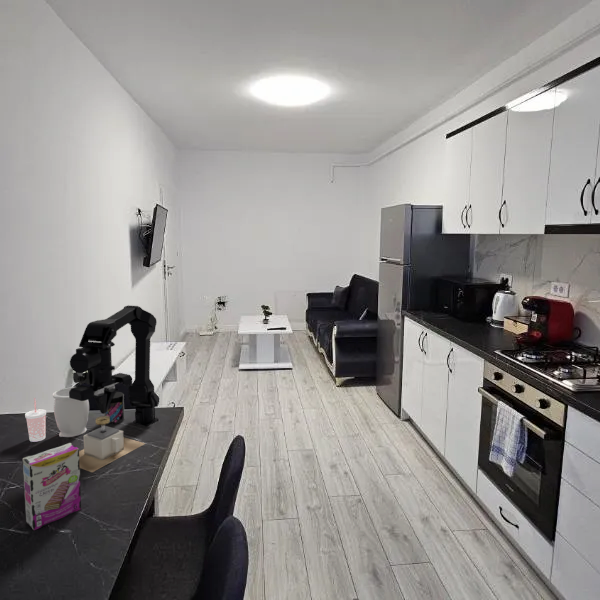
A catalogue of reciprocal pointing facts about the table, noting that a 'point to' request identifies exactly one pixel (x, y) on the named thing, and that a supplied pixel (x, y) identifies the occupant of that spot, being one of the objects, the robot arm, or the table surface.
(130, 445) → the serving board
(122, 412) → the supplement container
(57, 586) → the table surface
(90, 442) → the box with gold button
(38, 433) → the beverage cup
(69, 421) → the jar
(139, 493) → the table surface
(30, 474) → the candy bar box
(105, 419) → the gold push button
